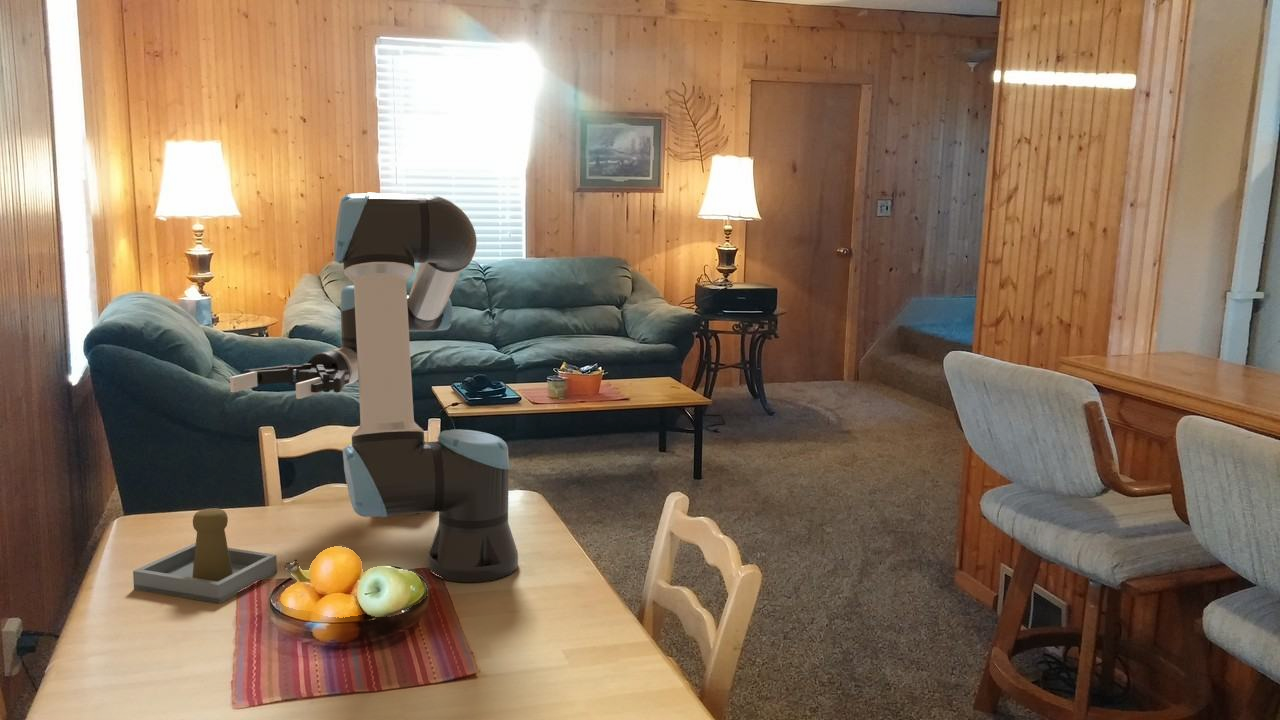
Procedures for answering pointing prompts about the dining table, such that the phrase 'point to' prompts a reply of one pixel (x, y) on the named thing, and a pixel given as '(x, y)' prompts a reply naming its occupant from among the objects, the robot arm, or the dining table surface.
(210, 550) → the cork
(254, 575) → the tray
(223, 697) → the dining table surface
